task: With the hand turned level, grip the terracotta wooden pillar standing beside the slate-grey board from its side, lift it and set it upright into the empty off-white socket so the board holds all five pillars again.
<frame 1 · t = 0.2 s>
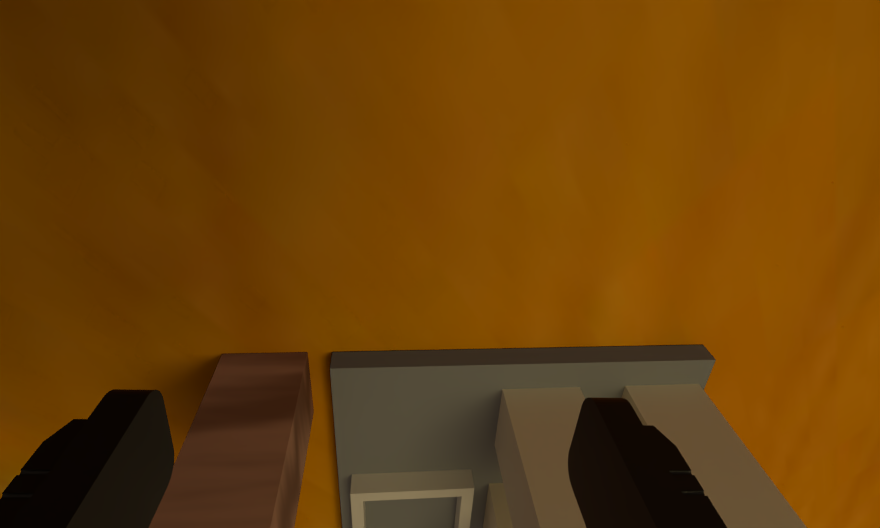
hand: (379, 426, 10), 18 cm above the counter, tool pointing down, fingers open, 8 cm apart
terracotta pillar: (270, 384, 32), on the counter
pillar board: (507, 451, 37), on the counter
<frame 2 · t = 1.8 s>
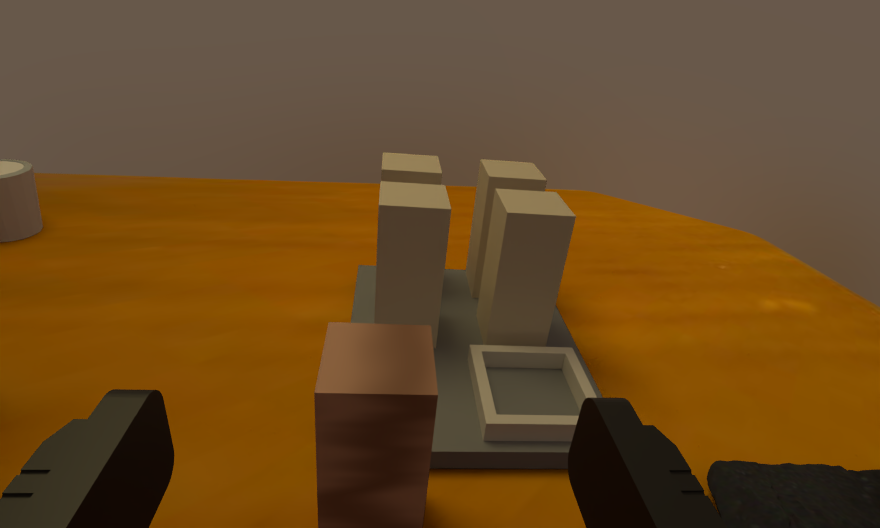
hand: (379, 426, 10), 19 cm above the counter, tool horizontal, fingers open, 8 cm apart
terracotta pillar: (371, 527, 29), on the counter
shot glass: (10, 232, 55), on the counter
pillar board: (462, 352, 43), on the counter
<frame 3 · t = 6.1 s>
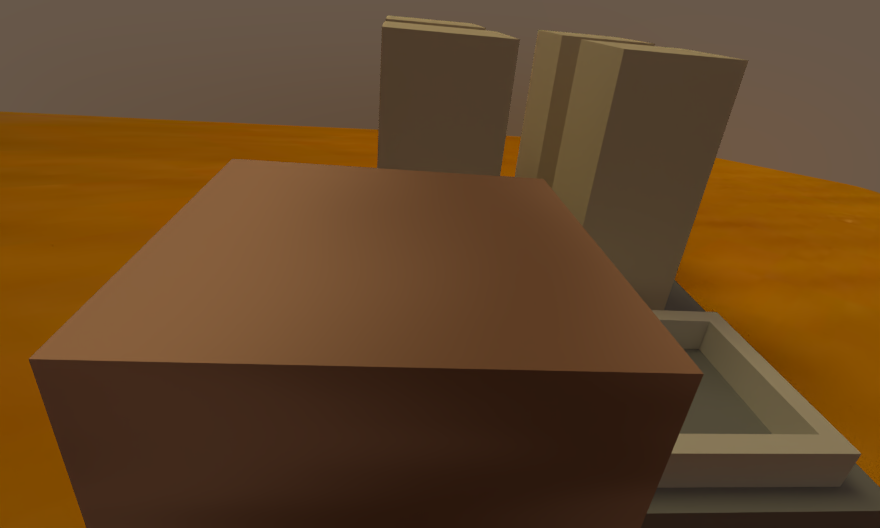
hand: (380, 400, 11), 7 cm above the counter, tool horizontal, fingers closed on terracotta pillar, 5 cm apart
pillar board: (519, 325, 26), on the counter
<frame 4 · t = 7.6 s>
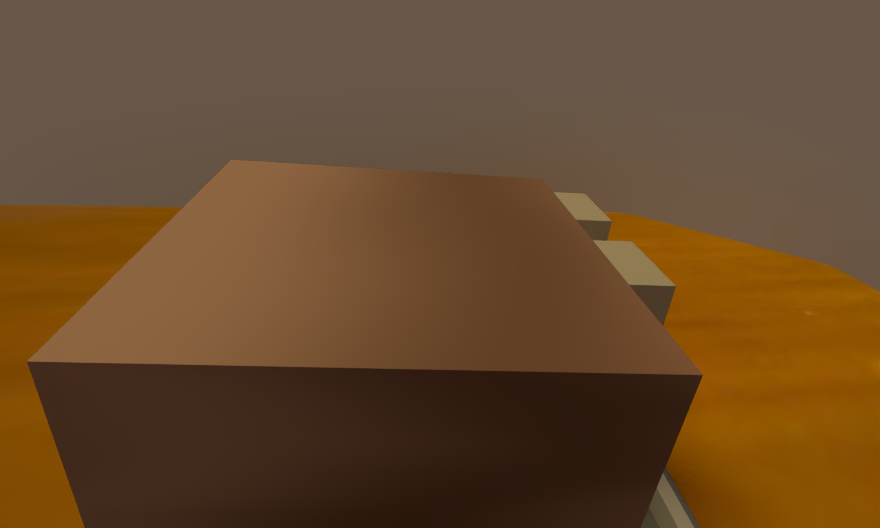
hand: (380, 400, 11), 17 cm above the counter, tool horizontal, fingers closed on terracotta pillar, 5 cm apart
pillar board: (496, 466, 31), on the counter
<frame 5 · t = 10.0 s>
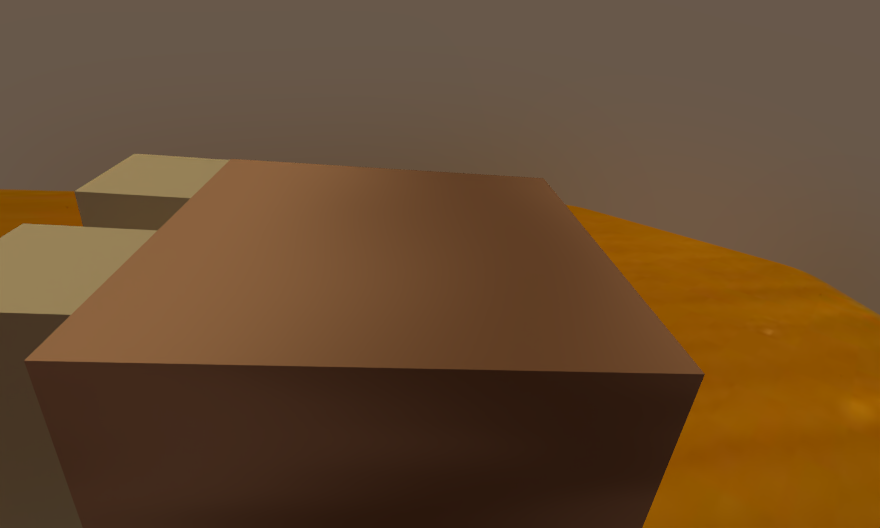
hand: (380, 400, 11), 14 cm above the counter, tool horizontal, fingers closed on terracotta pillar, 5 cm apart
when the fingers open (9 cm above the counter, at t = 11.2 s): terracotta pillar stays where it is, resting on pillar board.
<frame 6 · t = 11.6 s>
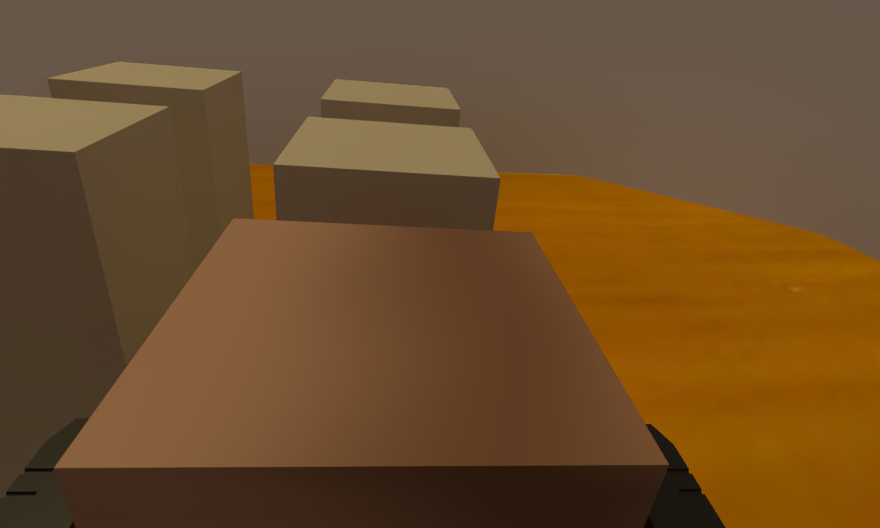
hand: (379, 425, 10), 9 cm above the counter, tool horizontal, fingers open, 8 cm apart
pillar board: (262, 516, 18), on the counter
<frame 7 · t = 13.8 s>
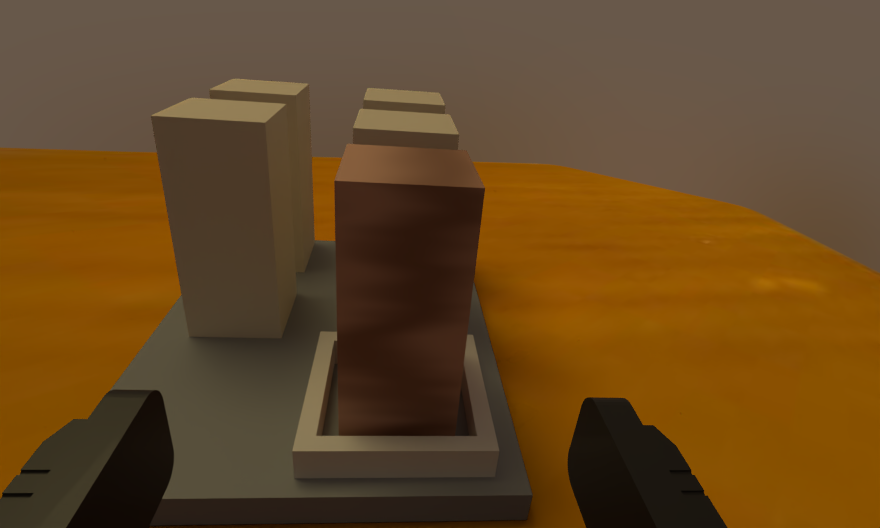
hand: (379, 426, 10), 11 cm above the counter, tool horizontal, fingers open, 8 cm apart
terracotta pillar: (396, 408, 25), point 1 cm above the counter, touching pillar board
pillar board: (329, 345, 31), on the counter
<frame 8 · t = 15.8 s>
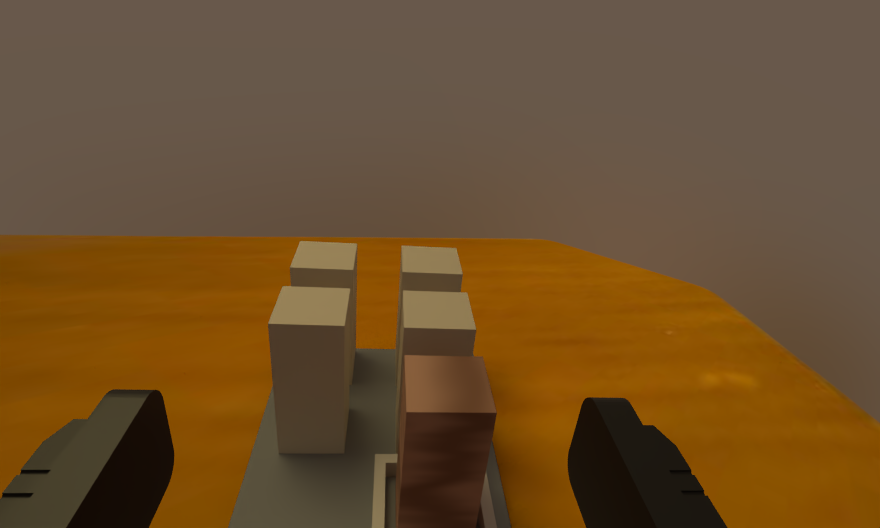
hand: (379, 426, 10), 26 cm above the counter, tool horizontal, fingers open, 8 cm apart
terracotta pillar: (431, 516, 36), point 1 cm above the counter, touching pillar board
pillar board: (376, 452, 42), on the counter
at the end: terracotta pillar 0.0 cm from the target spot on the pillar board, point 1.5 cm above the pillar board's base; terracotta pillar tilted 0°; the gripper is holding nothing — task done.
